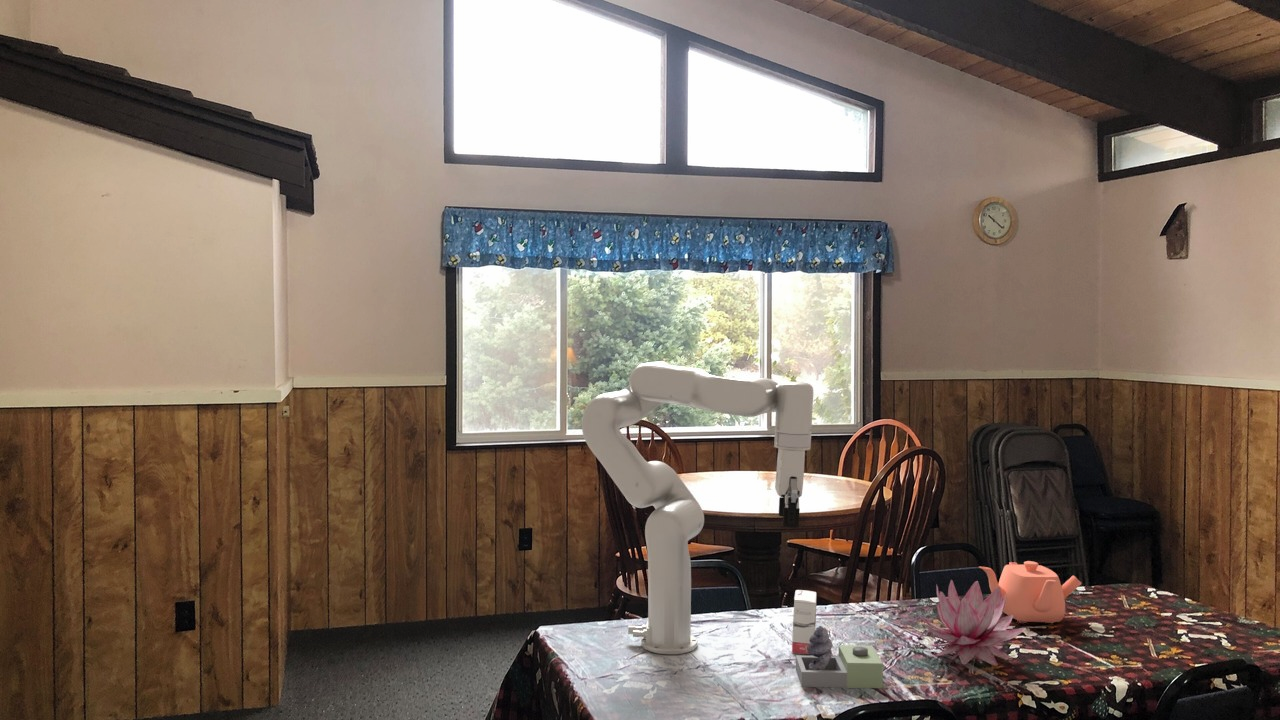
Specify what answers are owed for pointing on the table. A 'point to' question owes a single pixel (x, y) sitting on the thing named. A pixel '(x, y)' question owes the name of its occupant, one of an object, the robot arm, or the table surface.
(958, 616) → the decorative flower
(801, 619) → the ink box
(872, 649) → the green and grey box
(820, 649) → the seashell
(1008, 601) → the teapot
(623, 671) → the table surface
